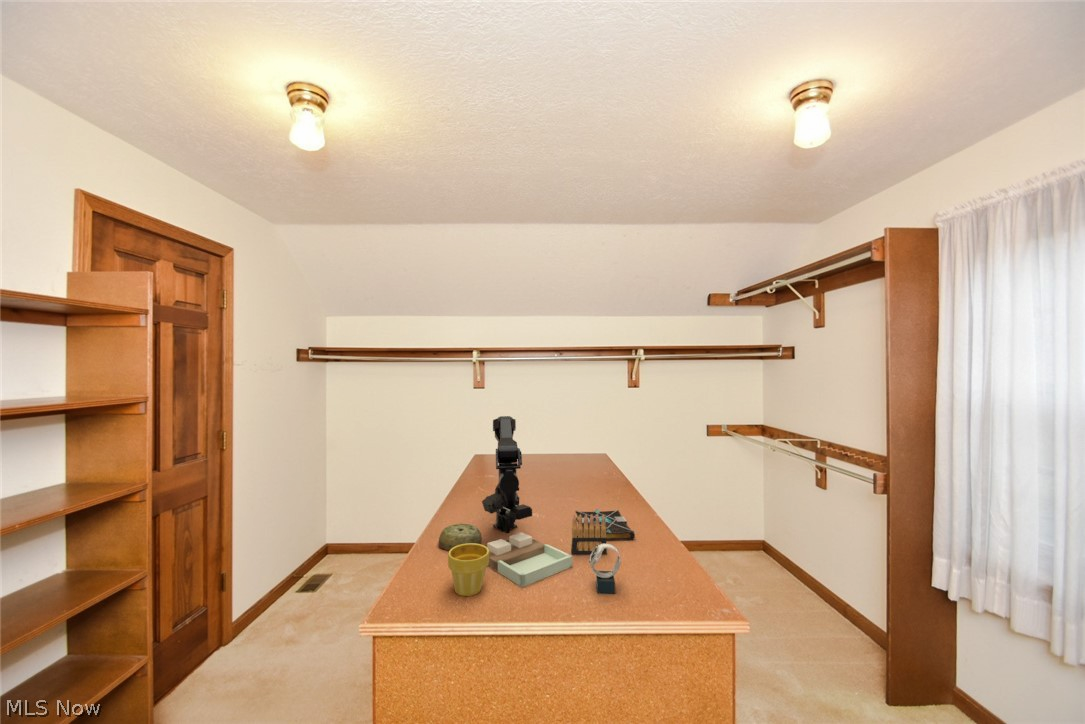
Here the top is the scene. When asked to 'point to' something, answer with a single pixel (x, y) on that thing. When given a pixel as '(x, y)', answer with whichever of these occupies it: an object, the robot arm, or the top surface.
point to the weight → (459, 536)
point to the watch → (604, 578)
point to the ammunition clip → (587, 535)
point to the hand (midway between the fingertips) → (507, 533)
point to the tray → (536, 566)
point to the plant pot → (468, 567)
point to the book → (610, 524)
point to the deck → (516, 554)
